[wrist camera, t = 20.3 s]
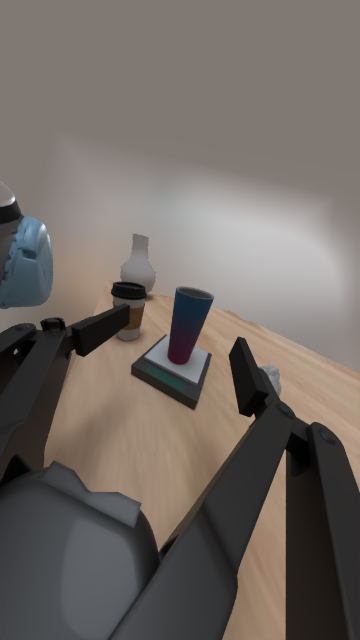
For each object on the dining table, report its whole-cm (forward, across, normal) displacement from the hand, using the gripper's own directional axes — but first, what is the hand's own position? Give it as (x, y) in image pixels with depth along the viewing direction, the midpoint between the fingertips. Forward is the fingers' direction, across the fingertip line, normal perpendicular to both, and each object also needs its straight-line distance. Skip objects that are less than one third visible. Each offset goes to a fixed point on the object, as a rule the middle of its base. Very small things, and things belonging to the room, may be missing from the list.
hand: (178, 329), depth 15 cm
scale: (+9, 0, -16) cm, 18 cm away
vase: (+48, -32, -16) cm, 59 cm away
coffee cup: (+15, -16, -16) cm, 27 cm away
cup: (+9, 0, -12) cm, 16 cm away
